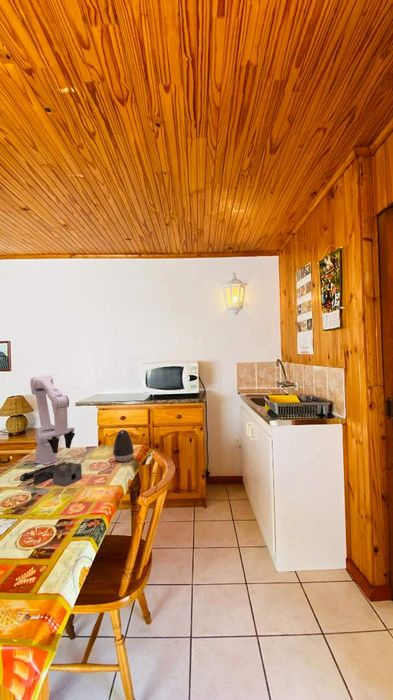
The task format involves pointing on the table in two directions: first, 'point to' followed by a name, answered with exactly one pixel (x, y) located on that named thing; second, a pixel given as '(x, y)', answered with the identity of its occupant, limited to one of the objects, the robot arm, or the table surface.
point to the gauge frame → (60, 477)
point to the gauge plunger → (45, 474)
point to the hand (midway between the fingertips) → (61, 450)
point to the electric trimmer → (30, 474)
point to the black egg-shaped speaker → (123, 446)
